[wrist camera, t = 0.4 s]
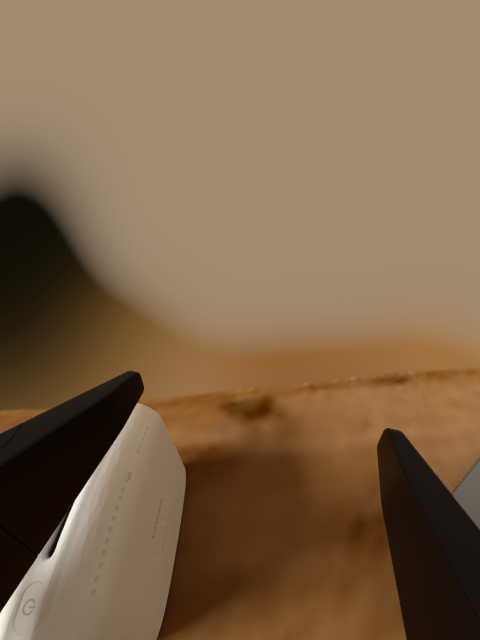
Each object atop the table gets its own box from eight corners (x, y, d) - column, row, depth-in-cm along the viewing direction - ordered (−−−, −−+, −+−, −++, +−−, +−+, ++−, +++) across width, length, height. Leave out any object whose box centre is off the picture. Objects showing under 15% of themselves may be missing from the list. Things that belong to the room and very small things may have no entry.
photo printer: (162, 660, 14) (50, 696, 6) (91, 657, 14) (-100, 690, 7) (193, 467, 22) (159, 383, 15) (147, 467, 22) (91, 385, 15)
